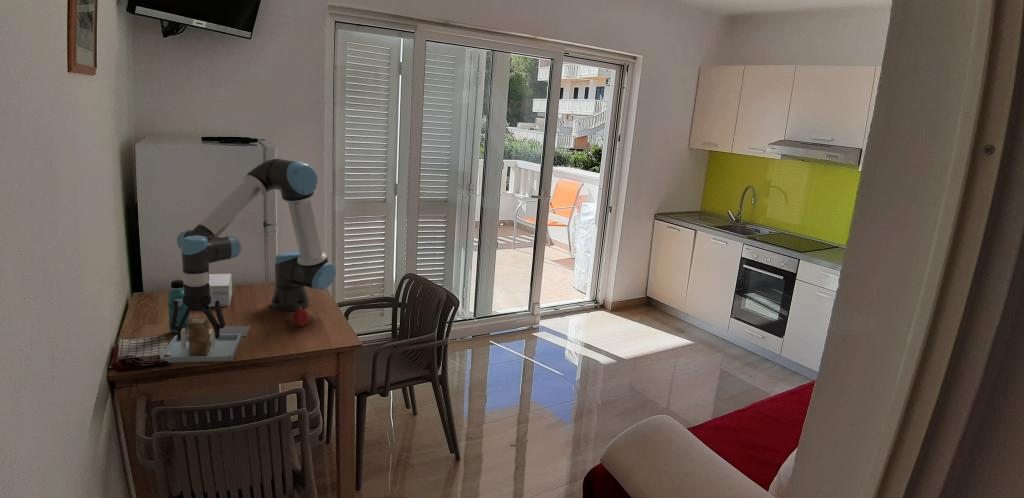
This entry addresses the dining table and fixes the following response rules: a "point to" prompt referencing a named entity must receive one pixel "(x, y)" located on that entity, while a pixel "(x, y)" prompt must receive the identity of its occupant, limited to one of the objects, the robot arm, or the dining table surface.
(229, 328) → the slate coaster
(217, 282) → the supplement box
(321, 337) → the dining table surface
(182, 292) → the beverage bottle
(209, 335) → the birch block
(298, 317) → the onion
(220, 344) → the bin
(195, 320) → the walnut box
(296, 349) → the dining table surface
